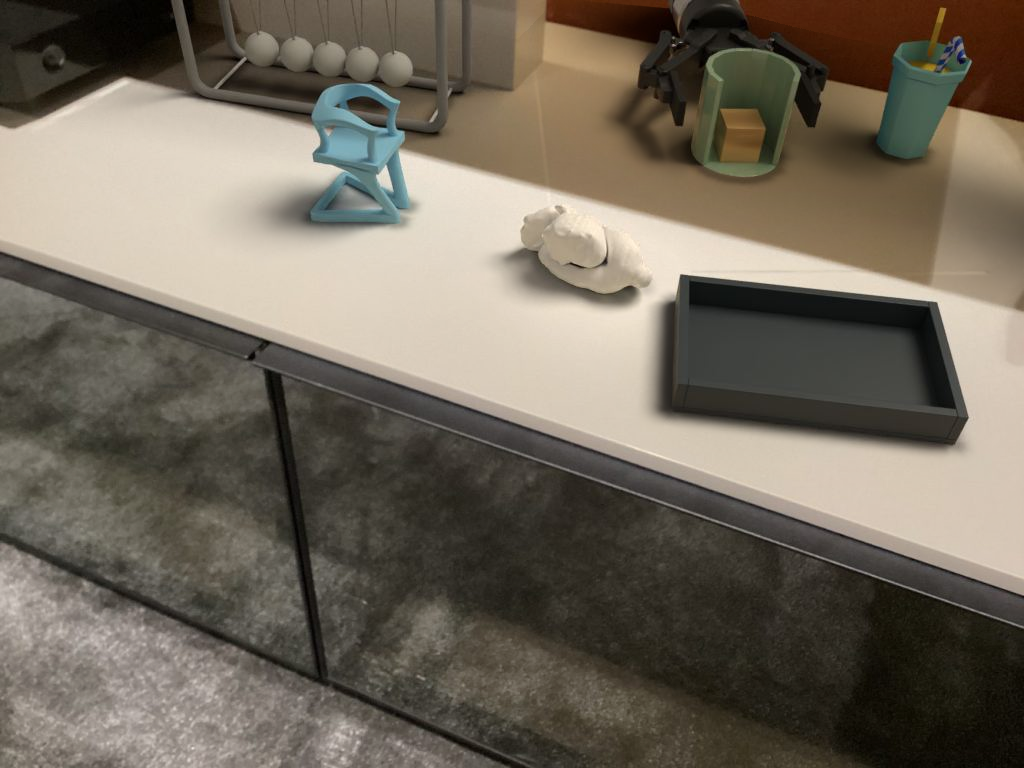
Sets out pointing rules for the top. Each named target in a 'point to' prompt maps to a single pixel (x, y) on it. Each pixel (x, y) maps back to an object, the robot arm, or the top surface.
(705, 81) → the pouring cup
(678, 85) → the robot arm
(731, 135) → the block
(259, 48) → the newton's cradle
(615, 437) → the top surface
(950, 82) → the cup
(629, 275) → the baby figurine
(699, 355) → the tray
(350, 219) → the chair
